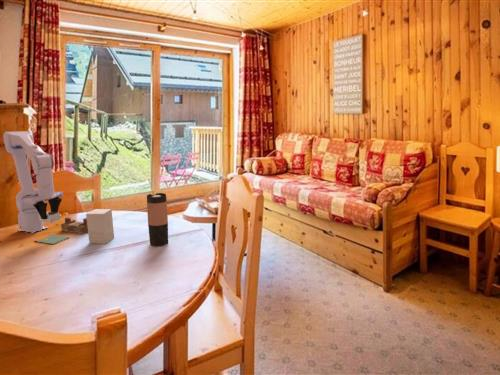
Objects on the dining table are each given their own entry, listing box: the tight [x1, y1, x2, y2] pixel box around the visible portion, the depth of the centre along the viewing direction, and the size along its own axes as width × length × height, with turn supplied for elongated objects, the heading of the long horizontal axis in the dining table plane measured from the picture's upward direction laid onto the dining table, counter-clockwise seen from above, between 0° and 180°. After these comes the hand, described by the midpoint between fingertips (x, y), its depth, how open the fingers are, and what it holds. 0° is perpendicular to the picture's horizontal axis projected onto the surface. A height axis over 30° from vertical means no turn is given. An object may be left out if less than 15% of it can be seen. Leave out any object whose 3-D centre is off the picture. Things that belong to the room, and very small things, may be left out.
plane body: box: [60, 217, 88, 234], centre depth 154 cm, size 13×5×6 cm, turn 72°
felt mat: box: [36, 234, 70, 245], centre depth 142 cm, size 10×8×1 cm
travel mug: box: [146, 192, 169, 247], centre depth 137 cm, size 8×8×20 cm
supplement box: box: [85, 208, 115, 245], centre depth 141 cm, size 7×7×13 cm
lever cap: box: [39, 210, 61, 224], centre depth 140 cm, size 6×4×4 cm
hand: (49, 217), depth 140 cm, fingers closed on lever cap, 4 cm apart
